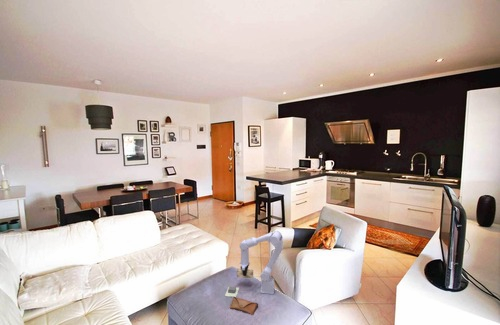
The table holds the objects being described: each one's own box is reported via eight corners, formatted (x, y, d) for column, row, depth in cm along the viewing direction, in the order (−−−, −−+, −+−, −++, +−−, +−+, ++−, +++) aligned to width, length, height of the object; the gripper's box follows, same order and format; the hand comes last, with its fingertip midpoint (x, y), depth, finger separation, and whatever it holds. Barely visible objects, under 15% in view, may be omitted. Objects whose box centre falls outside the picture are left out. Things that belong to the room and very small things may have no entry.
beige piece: (253, 276, 169) (253, 269, 169) (252, 278, 167) (252, 271, 166) (237, 274, 171) (237, 268, 171) (236, 277, 169) (236, 270, 168)
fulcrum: (239, 288, 166) (239, 284, 166) (236, 297, 156) (235, 293, 156) (228, 287, 168) (228, 283, 167) (224, 296, 158) (224, 292, 158)
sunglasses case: (227, 308, 146) (229, 296, 149) (232, 307, 152) (234, 296, 155) (253, 315, 139) (255, 303, 142) (257, 314, 145) (258, 302, 148)
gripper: (241, 251, 176) (241, 268, 177) (237, 261, 161) (237, 279, 162) (250, 252, 174) (250, 269, 175) (247, 262, 160) (247, 280, 161)
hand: (245, 274), depth 169 cm, fingers closed on beige piece, 3 cm apart
